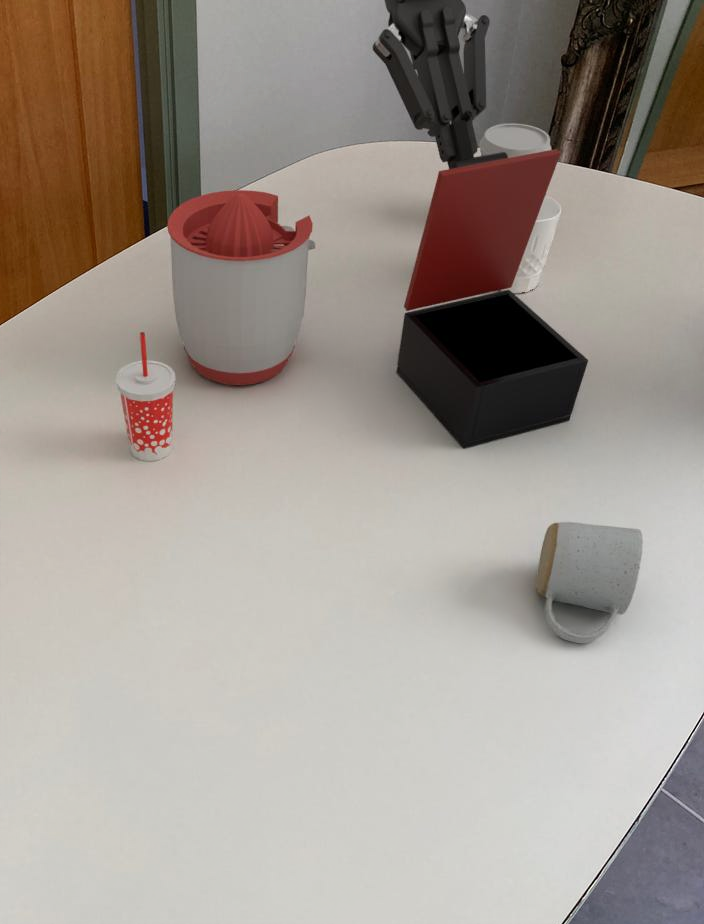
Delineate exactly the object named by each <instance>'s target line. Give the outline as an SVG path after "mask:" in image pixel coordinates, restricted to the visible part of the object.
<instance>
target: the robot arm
mask: <svg viewBox="0 0 704 924" xmlns="http://www.w3.org/2000/svg"><path fill="white" fill-rule="evenodd" d="M384 4H385V8H386V11H387V12H388V14H389V16H388V23H387V26H388V28H384V29H383V30H382V31H381V33H380V34H379V36H378V37H377V38H376V40H374V42H373V44H372V51H373V53H375V55H376V56H377V57H378V58H379V59H380V60H381V62H383V64H384V65H385V66H386V69H387V71H388V73H389V75H390V77H391V79H392V82H393V84H394V86H395V88H396V90H397V92H398V95H399V97H400V99H401V101H402V103H403V105H404V107H405V109H406V111H407V113H408V116H409V118H410V120H411V122H412V125H413V126H414V128H415V130H418V131H422V130H423V129H426V130H428V131H427V132H426V133H427V135H428V136H429V137H431V138H434V139H435V143H436V147H437V151H438V155H439V159H440V160H441V162H442V163H447V167H448V169H450V164H451V163H452V162H453V161H457V160H462V159H467V158H473V157H475V154H476V153H478V150H479V149H478V148H479V144H478V141H477V137H476V133H475V128H474V125H473V121H474V120H475V119H476V118H478V116H479V115H480V114H482V112H484V111H485V110H486V108H487V75H486V74H487V71H486V67H487V66H486V36H487V33H488V29H489V27H490V23H491V21H490V18H489V16H488V15H485V14H482V15H481V16H480V17H479V18H477V17H476V16H473V15H471V14H470V13H469V12H467V7H466V4H465V3H464V1H463V0H384ZM461 31H462V33H461V34H462V37H461V41H462V42H464V45H463V54H462V55H463V65H462V60H461V56H460V49H461V43H460V39H459V35H460V32H461ZM408 52H409V54H410V56H409V54H408Z"/></svg>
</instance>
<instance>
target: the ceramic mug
mask: <svg viewBox="0 0 704 924" xmlns="http://www.w3.org/2000/svg"><path fill="white" fill-rule="evenodd" d="M544 534H545V535H544V538H543V541H542V546H541V550H540V554H539V555H540V556H539V560H538V567H537V573H536V580H535V581H536V582H535V589H536V592H537V593H538V595H540V596H541V597H542V598H543V597H544V598H545V599H546V600H545V605H544V610H545V619H546V622H547V625H548V626H549V628H550V630H551V631H552V632H553V633H554V634H555V635H556V636H558V637H559V638H561V639H563V640H565V641H568V642H571V643H576V644H588V643H592V642H595V641H596V640H598V639H600V638H601V637H603V636H604V634H606V632H608V630H609V629H610V627H611V625H612V624H613V622H614V620H615V618H616V615H624V614H625V613H626V612H627V610H628V609H629V607H630V605H631V602H632V601H633V597H634V594H635V591H636V586H637V582H638V578H639V574H640V570H641V562H642V555H643V546H644V545H643V544H644V541H643V540H644V539H643V532H642V530H640V529H639V528H631V527H621V526H620V527H619V526H611V525H602V524H589V523H584V522H583V523H582V522H573V521H561V522H553V523H551V524H549V526H548V527H547V529H546V531H545V533H544ZM553 601H555V602H559V603H563V604H568V605H569V604H570V605H575V606H580V607H583V608H588V609H592V610H596V611H601V612H606V613H609V616H608V619H607V621H606V622H605V624H604V625H602V627H600V628H598V629H597V630H594V631H592V632H591V633H588V634H585V635H581V634H577V633H574V632H572V631H570V630H569V629H568V628H567V627H563V626H561V624H560V623H559V622H557V620H556V619H555V616H554V613H553Z"/></svg>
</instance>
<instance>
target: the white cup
mask: <svg viewBox="0 0 704 924" xmlns="http://www.w3.org/2000/svg"><path fill="white" fill-rule="evenodd" d="M561 213H562V206H561V204H560V203H559V202H558V201H557V200H556V199H554V198H553V197H551V196H548V195H545V197H544V200H543V203H542V206H541V208H540V211H539V214H538V216H537V219H536V222H535V225H534V227H533V230H532V233H531V236H530V238H529V241H528V244H527V246H526V249H525V252H524V255H523V257H522V260H521V263H520V265H519V268H518V271H517V274H516V276H515V279H514V282H513V285H512V287H511V288H507V289H503V290H500V291H504V290H510V291H511V292H512V293H513V294H523V293H522V292H525V293H528V292H531V291H533V290H535V289H536V288H537V286H538V285H539V284H540V283H539V282H540V279H541V277H542V273H543V269H544V267H545V266H546V262H547V259H548V256H549V252H550V250H551V247H552V243H553V241H554V238H555V233H556V230H557V227H558V224H559V219H560V217H561ZM532 289H533V290H532ZM530 290H531V291H530Z"/></svg>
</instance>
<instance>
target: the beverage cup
mask: <svg viewBox="0 0 704 924" xmlns="http://www.w3.org/2000/svg"><path fill="white" fill-rule="evenodd" d="M139 339H140V351H141V352H140V353H141V360H137V361H134V362H130V363H127V364H125V366H123V367H121V368H120V369H119V370H118V372H117V374H116V375H115V384H116V388H117V391H118V392H119V394H120V399H121V405H122V411H123V416H124V422H125V428H126V434H127V440H128V447H129V451H130V453H131V455H132V456H133V457H134V458H136V459H138V460H140V461H143V462H144V461H145V462H157V461H159V460H162V459H164V458H166V457H167V456H169V455H170V454H171V452H172V449H173V410H174V409H173V408H174V407H173V405H174V389H175V388H176V373H175V371H174V370H173V368H172V367H171V366H170V365H167V364H165V363H164V362H162V361H156V360H150V359H149V360H147V346H146V332H143V331H141V332H139Z"/></svg>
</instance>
